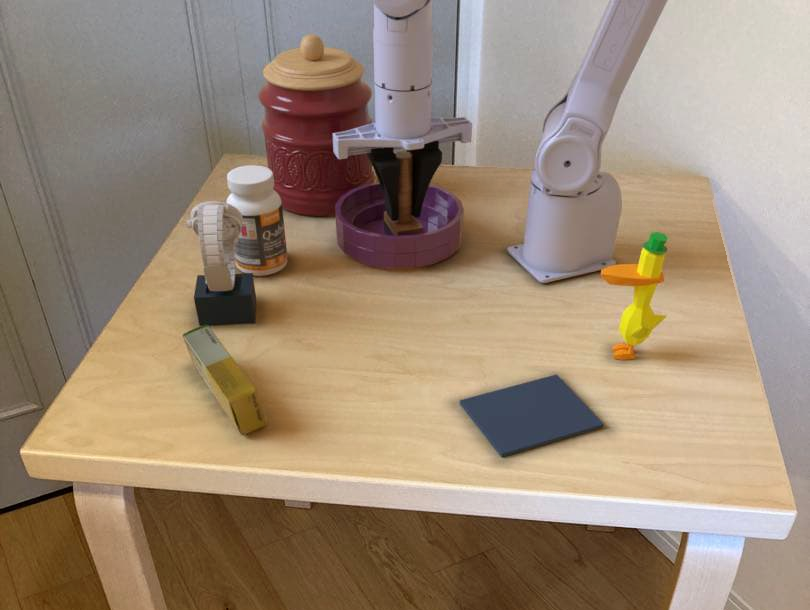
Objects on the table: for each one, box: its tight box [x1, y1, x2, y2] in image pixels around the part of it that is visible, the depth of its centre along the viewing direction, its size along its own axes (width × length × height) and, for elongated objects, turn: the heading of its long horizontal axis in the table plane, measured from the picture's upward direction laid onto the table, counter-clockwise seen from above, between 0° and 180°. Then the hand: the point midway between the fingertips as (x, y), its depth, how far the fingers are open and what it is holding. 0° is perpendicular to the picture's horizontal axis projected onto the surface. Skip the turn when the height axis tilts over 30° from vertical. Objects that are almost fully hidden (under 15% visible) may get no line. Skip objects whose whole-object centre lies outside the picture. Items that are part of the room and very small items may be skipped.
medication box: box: [182, 324, 268, 436], centre depth 74 cm, size 12×3×4 cm, turn 30°
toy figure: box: [600, 231, 669, 361], centre depth 76 cm, size 7×4×12 cm, turn 87°
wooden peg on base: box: [384, 150, 423, 236], centre depth 91 cm, size 3×5×10 cm, turn 18°
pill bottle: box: [225, 164, 288, 277], centre depth 88 cm, size 6×6×10 cm
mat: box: [459, 373, 605, 458], centre depth 74 cm, size 10×8×1 cm
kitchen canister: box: [257, 33, 375, 217], centre depth 98 cm, size 13×13×18 cm
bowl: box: [334, 181, 465, 270], centre depth 94 cm, size 14×14×4 cm
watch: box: [186, 200, 257, 327], centre depth 81 cm, size 6×8×11 cm
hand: (403, 215), depth 92 cm, fingers closed on wooden peg on base, 2 cm apart
